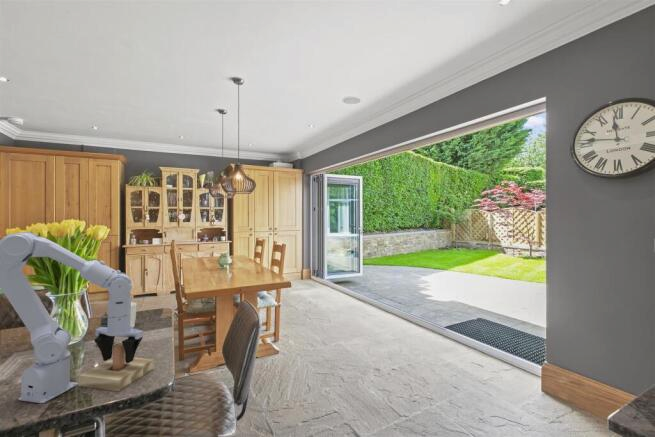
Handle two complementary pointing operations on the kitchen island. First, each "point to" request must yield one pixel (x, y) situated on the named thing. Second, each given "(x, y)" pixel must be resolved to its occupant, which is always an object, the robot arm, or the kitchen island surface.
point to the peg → (118, 357)
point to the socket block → (115, 374)
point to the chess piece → (104, 322)
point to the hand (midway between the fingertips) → (118, 360)
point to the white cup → (133, 314)
